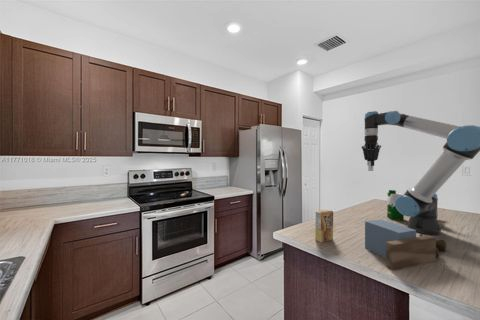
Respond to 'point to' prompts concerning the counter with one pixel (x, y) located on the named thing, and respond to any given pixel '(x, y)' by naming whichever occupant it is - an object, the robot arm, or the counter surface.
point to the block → (384, 235)
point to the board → (410, 252)
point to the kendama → (439, 246)
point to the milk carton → (393, 206)
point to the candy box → (324, 225)
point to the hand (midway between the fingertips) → (370, 170)
